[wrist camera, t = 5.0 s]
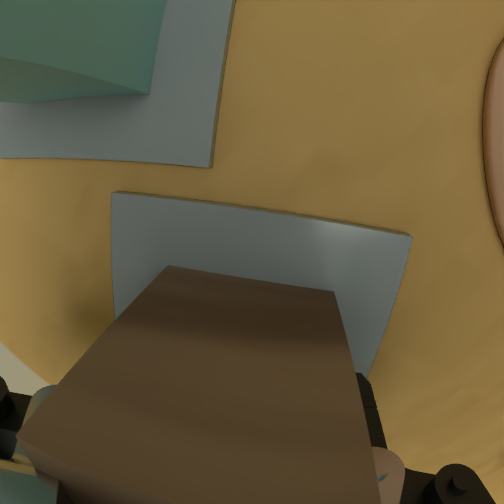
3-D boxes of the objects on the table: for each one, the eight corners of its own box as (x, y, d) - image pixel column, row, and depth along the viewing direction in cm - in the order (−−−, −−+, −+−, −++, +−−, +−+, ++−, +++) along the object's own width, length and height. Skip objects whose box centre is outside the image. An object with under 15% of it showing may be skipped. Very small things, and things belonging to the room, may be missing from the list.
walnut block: (167, 264, 10) (15, 435, 3) (334, 291, 9) (383, 520, 3) (168, 386, 11) (94, 543, 5) (299, 410, 11) (293, 587, 4)
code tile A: (117, 190, 9) (111, 192, 9) (408, 233, 9) (413, 237, 8) (130, 401, 12) (126, 407, 12) (335, 437, 12) (335, 445, 11)
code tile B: (41, -38, 7) (36, -41, 6) (251, -80, 6) (250, -86, 6) (1, 157, 10) (-6, 158, 9) (212, 167, 9) (208, 168, 9)
